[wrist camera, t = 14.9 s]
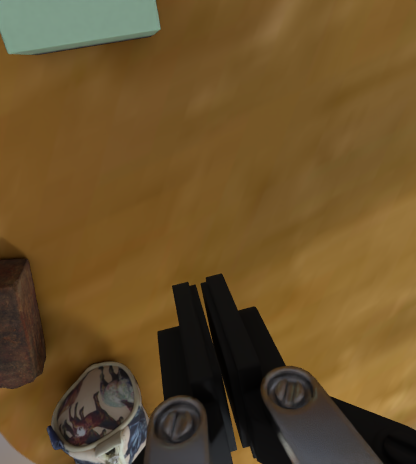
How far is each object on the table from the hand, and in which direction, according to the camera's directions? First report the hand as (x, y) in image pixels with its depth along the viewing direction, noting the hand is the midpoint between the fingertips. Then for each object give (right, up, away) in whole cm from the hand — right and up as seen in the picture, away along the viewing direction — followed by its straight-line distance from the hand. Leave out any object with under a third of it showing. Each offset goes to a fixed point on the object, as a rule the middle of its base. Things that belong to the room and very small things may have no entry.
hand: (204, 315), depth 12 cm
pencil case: (-9, -19, +30) cm, 37 cm away
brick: (-17, -4, +21) cm, 27 cm away
